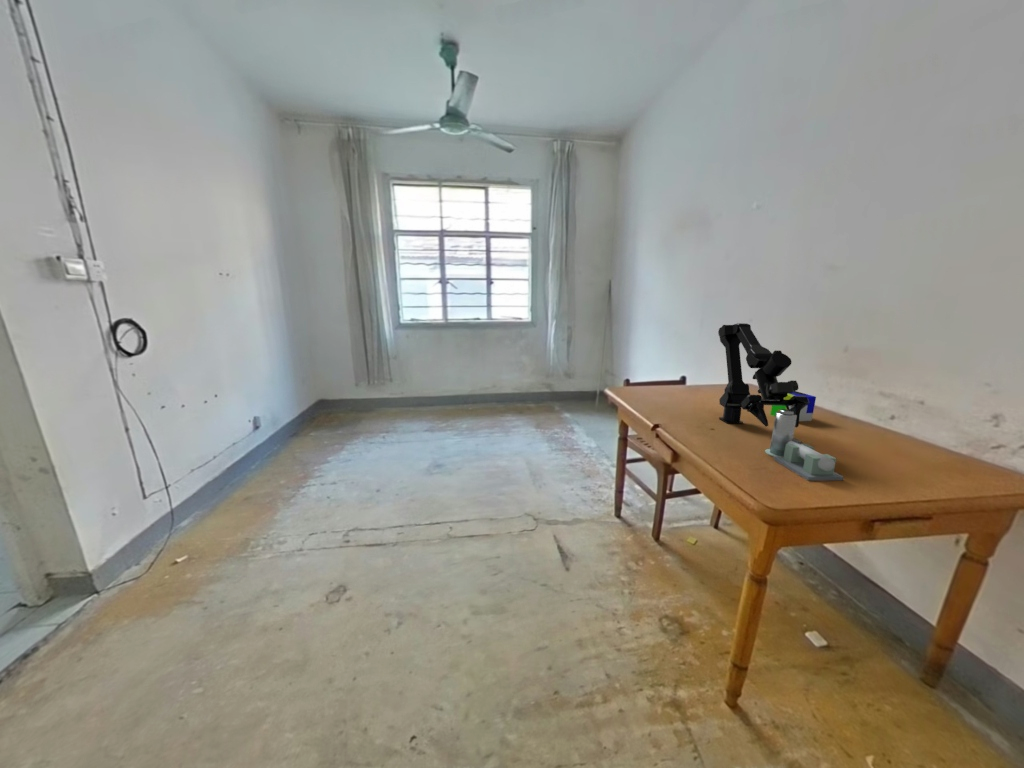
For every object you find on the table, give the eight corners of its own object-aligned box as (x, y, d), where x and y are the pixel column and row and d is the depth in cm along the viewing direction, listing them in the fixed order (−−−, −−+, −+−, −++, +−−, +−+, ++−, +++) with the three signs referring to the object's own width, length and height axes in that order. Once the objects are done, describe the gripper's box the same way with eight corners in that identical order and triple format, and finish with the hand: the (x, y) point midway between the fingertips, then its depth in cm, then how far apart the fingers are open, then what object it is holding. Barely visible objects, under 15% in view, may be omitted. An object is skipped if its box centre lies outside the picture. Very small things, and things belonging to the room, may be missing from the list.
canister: (768, 448, 134) (775, 407, 131) (788, 451, 132) (796, 409, 128) (770, 454, 129) (777, 411, 126) (791, 457, 127) (798, 414, 124)
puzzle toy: (811, 420, 165) (816, 396, 163) (790, 422, 163) (795, 397, 160) (790, 413, 174) (794, 390, 172) (770, 414, 172) (774, 391, 170)
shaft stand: (773, 459, 126) (777, 438, 124) (805, 459, 126) (809, 438, 124) (807, 480, 112) (812, 456, 110) (843, 480, 112) (848, 456, 111)
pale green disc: (759, 449, 134) (759, 448, 134) (783, 449, 134) (783, 448, 134) (775, 459, 126) (775, 458, 126) (801, 458, 127) (801, 458, 126)
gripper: (751, 370, 131) (764, 414, 123) (811, 371, 130) (828, 415, 122) (735, 388, 140) (747, 429, 132) (791, 389, 140) (806, 431, 132)
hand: (782, 426), depth 129 cm, fingers open, 9 cm apart
